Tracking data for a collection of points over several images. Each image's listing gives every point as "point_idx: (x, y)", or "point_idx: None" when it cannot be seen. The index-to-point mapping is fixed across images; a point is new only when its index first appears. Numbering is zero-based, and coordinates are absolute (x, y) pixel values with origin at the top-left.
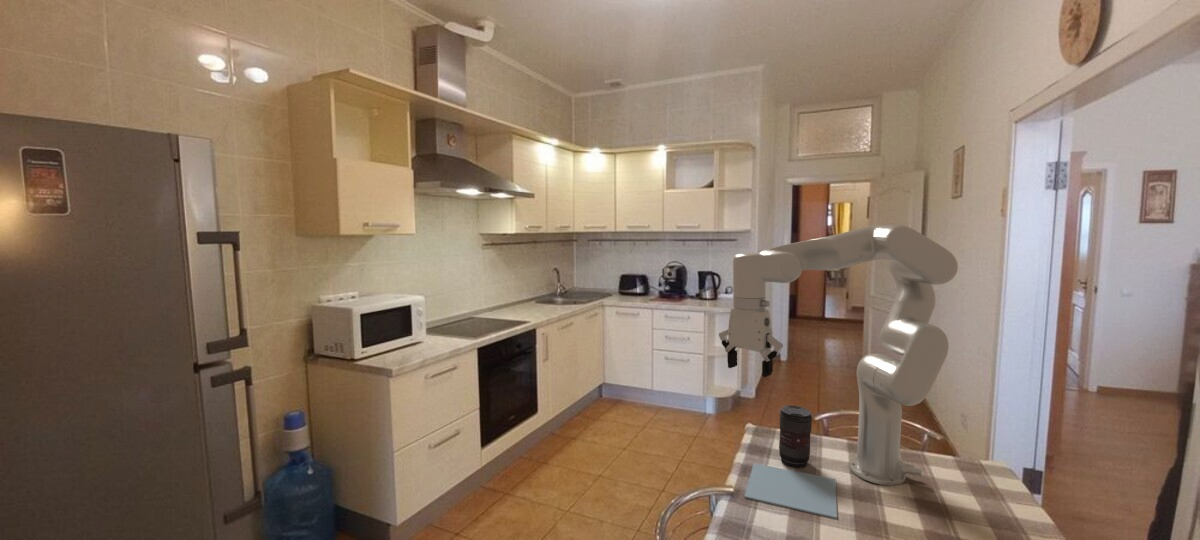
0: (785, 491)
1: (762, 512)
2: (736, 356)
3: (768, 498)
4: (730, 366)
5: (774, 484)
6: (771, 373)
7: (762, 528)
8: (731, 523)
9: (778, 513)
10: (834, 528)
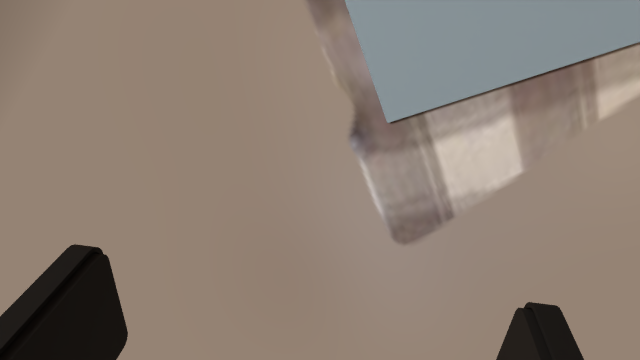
0: (474, 16)
1: (451, 146)
2: (31, 353)
3: (445, 88)
4: (118, 351)
5: (431, 1)
6: (558, 310)
7: (473, 197)
8: (410, 222)
9: (487, 123)
10: (636, 86)
